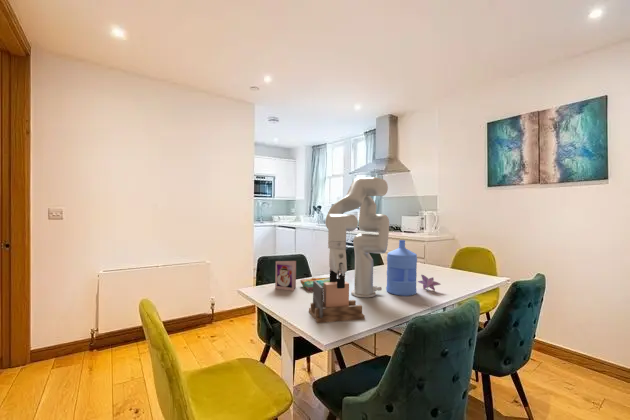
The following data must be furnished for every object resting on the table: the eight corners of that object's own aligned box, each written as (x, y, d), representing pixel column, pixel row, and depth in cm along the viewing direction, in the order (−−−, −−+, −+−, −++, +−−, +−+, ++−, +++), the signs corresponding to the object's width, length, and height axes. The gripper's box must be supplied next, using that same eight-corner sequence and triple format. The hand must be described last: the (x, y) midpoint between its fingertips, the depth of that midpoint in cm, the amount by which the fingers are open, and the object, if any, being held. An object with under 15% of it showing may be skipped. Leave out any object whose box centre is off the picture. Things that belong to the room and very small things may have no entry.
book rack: (351, 308, 141) (352, 278, 141) (364, 319, 127) (365, 286, 127) (308, 311, 136) (309, 280, 136) (317, 323, 122) (317, 288, 122)
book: (345, 308, 135) (345, 281, 135) (348, 312, 131) (349, 283, 131) (323, 310, 132) (323, 282, 132) (325, 313, 128) (326, 284, 128)
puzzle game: (300, 278, 178) (331, 275, 186) (300, 286, 178) (331, 283, 186) (308, 283, 167) (341, 280, 175) (308, 291, 167) (341, 288, 175)
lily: (443, 295, 167) (443, 279, 171) (429, 289, 163) (430, 273, 167) (426, 296, 176) (426, 281, 180) (413, 291, 171) (413, 275, 175)
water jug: (382, 288, 176) (383, 238, 175) (409, 288, 177) (410, 238, 176) (391, 296, 160) (392, 242, 160) (421, 296, 161) (422, 242, 161)
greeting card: (274, 288, 171) (274, 261, 171) (280, 285, 178) (281, 259, 178) (293, 291, 167) (293, 263, 167) (299, 287, 174) (299, 261, 174)
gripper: (353, 247, 124) (352, 290, 125) (338, 241, 141) (338, 279, 141) (335, 248, 122) (335, 291, 123) (322, 242, 139) (322, 280, 139)
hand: (336, 284), depth 132 cm, fingers open, 9 cm apart
